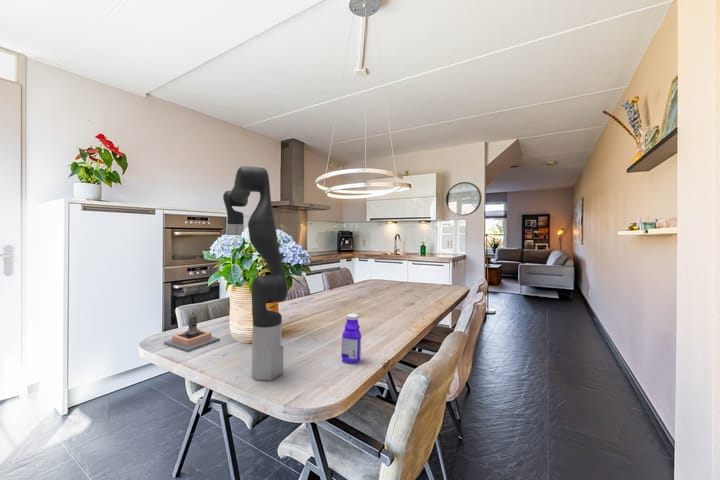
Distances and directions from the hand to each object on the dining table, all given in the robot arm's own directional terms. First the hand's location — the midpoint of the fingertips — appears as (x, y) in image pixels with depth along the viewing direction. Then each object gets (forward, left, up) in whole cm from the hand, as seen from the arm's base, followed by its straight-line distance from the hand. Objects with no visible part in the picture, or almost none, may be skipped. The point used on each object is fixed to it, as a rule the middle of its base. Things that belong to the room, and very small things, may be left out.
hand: (234, 268), depth 135 cm
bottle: (-62, -1, -30) cm, 69 cm away
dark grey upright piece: (+5, +17, -29) cm, 34 cm away
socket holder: (+5, +17, -30) cm, 35 cm away
